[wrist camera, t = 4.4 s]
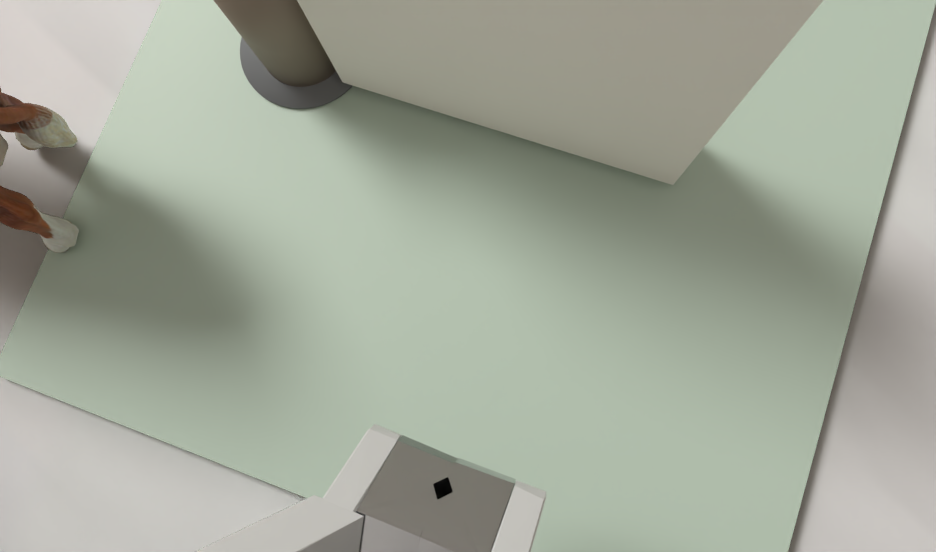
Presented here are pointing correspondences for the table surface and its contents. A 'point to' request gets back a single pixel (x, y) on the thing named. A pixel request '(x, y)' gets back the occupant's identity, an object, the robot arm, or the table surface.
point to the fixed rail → (280, 39)
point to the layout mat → (478, 283)
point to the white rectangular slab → (567, 66)
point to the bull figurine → (34, 132)
